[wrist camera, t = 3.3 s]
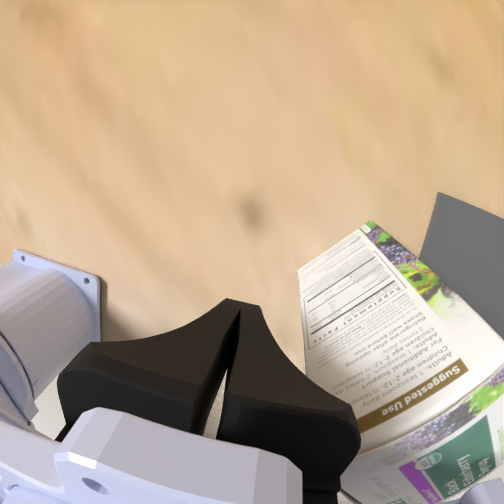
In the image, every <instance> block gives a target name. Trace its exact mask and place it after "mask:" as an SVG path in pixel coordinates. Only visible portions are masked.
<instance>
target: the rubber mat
mask: <svg viewBox="0 0 504 504" xmlns="http://www.w3.org/2000/svg"><path fill="white" fill-rule="evenodd" d="M419 260H420V261H421V262H422V263H424V264H425V265H426V266H427V267H428V268H430V269H431V270H432V271H433V272H434V273H435V274H436V275H437V276H438V277H439V278H440V279H442V280H443V281H444V282H445V283H446V284H447V285H448V286H449V287H450V288H451V289H453V290H454V291H455V292H456V293H457V294H458V295H459V296H460V297H461V298H462V299H463V300H464V301H465V302H466V303H467V304H468V305H469V306H470V307H471V308H472V309H473V310H474V311H475V312H477V313H478V314H479V315H480V316H481V317H482V318H483V319H484V320H485V321H486V322H487V323H488V324H489V326H490V327H491V328H492V329H493V330H494V331H495V332H496V333H497V334H498V335H499V336H500V337H501V338H502V339H503V340H504V219H502V218H500V217H498V216H495V215H493V214H491V213H489V212H487V211H484V210H482V209H480V208H477V207H475V206H473V205H470V204H468V203H465V202H463V201H461V200H458V199H456V198H453V197H451V196H448V195H445V194H443V193H440V192H438V195H437V199H436V203H435V206H434V210H433V214H432V217H431V221H430V224H429V228H428V231H427V234H426V238H425V241H424V244H423V247H422V250H421V253H420V256H419Z"/></svg>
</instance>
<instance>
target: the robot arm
mask: <svg viewBox="0 0 504 504" xmlns="http://www.w3.org/2000/svg"><path fill="white" fill-rule="evenodd" d="M24 257H25V258H24ZM86 278H88V279H89V282H88V281H87V279H86ZM69 362H70V363H69ZM68 363H69V364H68ZM67 364H68V365H67ZM66 365H67V366H66ZM65 366H66V367H65ZM226 370H227V375H226V383H225V391H224V399H223V407H222V414H221V419H220V423H219V427H218V431H217V436H216V439H212V438H208V437H204V436H203V434H204V430H205V426H206V423H207V419H208V416H209V413H210V410H211V408H212V405H213V403H214V400H215V398H216V395H217V393H218V390H219V388H220V385H221V383H222V380H223V378H224V375H225V373H226ZM61 371H62V372H61ZM59 373H60V374H59ZM58 374H59V376H58V380H57V389H58V395H59V399H60V403H61V406H62V410H63V414H64V418H65V421H66V425H65V426H64V428H63V429H62V431H61V432H60V433H59V435H58V436H57V438H56V439H55V440H52V439H51V438H49V437H47V436H45V435H44V434H42V433H40V432H39V431H37V430H35V426H34V424H33V423H32V422H31V420H32V418H33V417H34V416H35V415H36V414H37V412H38V411H39V410H38V408H37V407H36V405H35V403H34V401H35V400H36V398H37V397H38V396H39V395H40V394H41V393H42V392H43V390H44V389H45V388H46V387H47V386H48V385H49V384H50V383H51V382H52V381H53V380H54V378H55V377H56V376H57V375H58ZM360 448H361V436H360V431H359V427H358V423H357V420H356V417H355V414H354V412H353V409H352V406H351V405H350V404H348V403H346V402H345V401H343V400H341V399H339V398H337V397H336V396H334V395H332V394H330V393H328V392H327V391H325V390H324V389H323V388H321V387H320V386H318V385H317V384H315V383H314V382H313V381H312V380H310V379H309V378H308V377H307V376H305V375H304V374H303V373H302V372H301V371H300V370H299V369H298V368H297V367H296V366H295V365H294V364H293V363H292V362H291V361H290V360H289V359H288V357H287V356H286V355H285V354H284V353H283V351H282V350H281V349H280V347H279V346H278V344H277V342H276V341H275V339H274V337H273V336H272V334H271V332H270V330H269V328H268V326H267V324H266V321H265V319H264V316H263V314H262V310H261V308H260V306H258V305H254V304H249V303H245V302H241V301H236V300H232V299H228V298H226V299H224V300H223V301H222V302H220V303H219V304H218V305H217V306H215V307H214V308H213V309H211V310H210V311H208V312H207V313H205V314H204V315H202V316H201V317H199V318H198V319H196V320H194V321H192V322H190V323H189V324H187V325H185V326H183V327H180V328H178V329H175V330H172V331H170V332H167V333H163V334H159V335H156V336H152V337H148V338H143V339H137V340H129V341H118V342H101V333H100V280H99V278H98V277H97V276H95V275H93V274H90V273H86V272H83V271H80V270H77V269H74V268H71V267H68V266H65V265H62V264H59V263H56V262H53V261H50V260H47V259H45V258H42V257H39V256H36V255H33V254H30V253H28V252H25V251H22V250H19V249H16V250H14V251H13V261H12V262H10V263H8V264H6V265H4V266H2V267H0V504H338V500H337V492H339V491H340V489H341V481H340V476H341V475H342V474H343V473H344V471H345V470H346V469H347V467H348V466H349V465H350V464H351V462H352V461H353V460H354V458H355V457H356V455H357V453H358V451H359V450H360ZM437 504H504V484H503V482H502V479H501V478H496V479H493V480H489V481H485V482H481V483H479V484H476V485H475V486H473V487H472V488H470V489H469V490H468V491H467V492H466V493H465V494H464V495H463V496H462V497H461V498H460V499H456V500H452V501H448V502H442V503H437Z"/></svg>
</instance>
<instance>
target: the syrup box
mask: <svg viewBox="0 0 504 504" xmlns="http://www.w3.org/2000/svg"><path fill="white" fill-rule="evenodd" d="M297 274H298V284H299V296H300V307H301V318H302V329H303V339H304V353H305V368H306V376H307V377H308V378H309V379H310V380H312V381H313V382H314V383H315V384H317V385H318V386H320V387H321V388H323V389H324V390H325V391H327V392H328V393H330V394H332V395H334V396H336V397H337V398H339V399H341V400H343V401H345V402H346V403H348V404H350V405H351V406H352V409H353V412H354V414H355V417H356V420H357V423H358V427H359V431H360V436H361V448H360V450H359V451H358V453H357V455H356V457H355V458H354V460H353V461H352V462H351V464H350V465H349V466H348V467H347V469H346V470H345V471H344V473H343V474H342V475H341V476H340V481H341V489H340V491H339V492H340V493H342V494H343V495H344V496H345V497H346V498H347V499H348V500H350V501H351V502H353V503H354V504H437V503H441V502H443V501H445V500H447V499H449V498H451V497H453V496H455V495H457V494H459V493H461V492H462V491H464V490H466V489H468V488H470V487H471V486H473V485H474V484H476V483H477V482H479V481H480V480H482V479H483V478H485V477H486V476H487V475H489V474H490V473H491V472H493V471H494V470H495V469H497V468H498V467H499V466H500V465H502V464H503V463H504V340H503V339H502V338H501V337H500V336H499V335H498V334H497V333H496V332H495V331H494V330H493V329H492V328H491V327H490V326H489V324H488V323H487V322H486V321H485V320H484V319H483V318H482V317H481V316H480V315H479V314H478V313H477V312H475V311H474V310H473V309H472V308H471V307H470V306H469V305H468V304H467V303H466V302H465V301H464V300H463V299H462V298H461V297H460V296H459V295H458V294H457V293H456V292H455V291H454V290H453V289H451V288H450V287H449V286H448V285H447V284H446V283H445V282H444V281H443V280H442V279H440V278H439V277H438V276H437V275H436V274H435V273H434V272H433V271H432V270H431V269H430V268H428V267H427V266H426V265H425V264H424V263H422V262H421V261H420V260H419V259H418V258H417V257H416V256H414V255H413V254H412V253H411V252H410V251H408V250H407V249H406V248H405V247H404V246H402V245H401V244H400V243H399V242H397V241H396V240H395V239H394V238H393V237H392V236H390V235H389V234H388V233H387V232H385V231H384V230H383V229H382V228H380V227H379V226H378V225H376V224H375V223H374V222H373V221H369V222H367V223H366V224H364V225H363V226H361V227H360V228H359V229H357V230H356V231H354V232H353V233H352V234H350V235H349V236H347V237H346V238H344V239H343V240H341V241H340V242H339V243H337V244H336V245H334V246H333V247H331V248H330V249H328V250H327V251H325V252H324V253H322V254H321V255H320V256H318V257H317V258H315V259H314V260H312V261H311V262H309V263H308V264H306V265H305V266H303V267H302V268H300V269H299V270H298V271H297Z"/></svg>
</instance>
